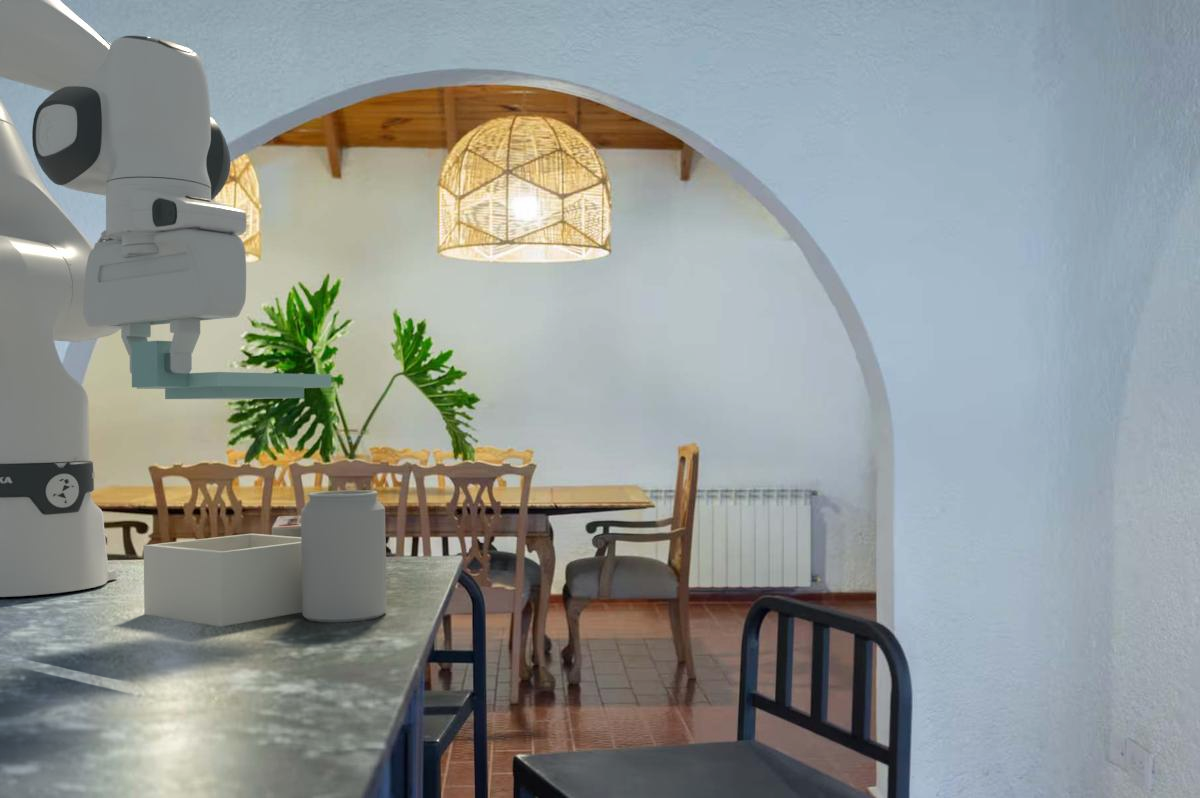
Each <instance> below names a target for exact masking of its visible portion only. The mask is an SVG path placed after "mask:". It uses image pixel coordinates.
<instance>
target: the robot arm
mask: <svg viewBox="0 0 1200 798" xmlns="http://www.w3.org/2000/svg"><path fill="white" fill-rule="evenodd" d="M0 78H3V79H6V80H10V81H13V82H17V83H21V84H24V85H28V86H32V87H35V88H38V89H42V90H46V91H49V92H52V94H50V95H49V96H47V98H46V99H44V100H43V101H42V102H41V104H39V105H38V107H37V109H36V111H35V114H34V118H33V123H32V134H31V135H32V136H31V137H32V148H33V152H34V156H35V159H36V160H37V163H38V165H39V166H40V168H41V170H42V172H43V173H44V175H46V177H47V178H48V179H49V180H50V181H51V182H52V183H53V184H55V185H58V186H61V187H64V188H67V189H69V190H73V191H77V192H83V193H87V194H88V193H89V194H94V195H99V196H105V230H103V231H102V232H101V234H100V237H99V239H98V240H97V242H95V244H93V243H92V242H91V241H90V240H89V239H88V238H87V237H86V236H85V235H84V233H83V232H82V231H81V230H80V229H79V228H78V227H77V225H76V224H75V223H74V222H73V221H72V220H71V218H69V216H68V215H67V214H66V213H65V211H64V210H63V209H62V208H61V207H60V206H59V204H58V203H57V201H55V199H54V198H53V196H52V195H51V194H50V192H49V191H48V189H47V188H46V185H44V183H43V181H42V180H41V178H40V175H39V174H38V172H37V170H36V167H35V165H34V164H33V162H32V159H31V157H30V155H29V153H28V152H27V149H26V147H25V145H24V143H23V141H22V138H21V137H20V135H19V132H18V130H17V128H16V125H15V124H14V122H13V120H12V118H11V116H10V114H9V112H8V111H7V109H6V107H5V105H4V103H3V101H2V99H1V98H0V598H7V597H26V596H39V595H50V594H61V593H68V592H75V591H81V590H86V589H87V590H88V589H91V588H96V587H101V586H104V585H106V584H107V582H108V581H112V580H115V579H118V571H117V569H116V568H114V569H113V568H109V562H108V552H107V541H106V539H107V538H106V530H105V519H104V513H103V511H102V509H101V508H100V507H99V506H98V505H97V504H96V503H95V502H94V500H93V498H92V495H91V493H92V492H93V491H94V489H95V483H94V481H95V480H94V479H95V477H96V476H95V471H94V462H93V461H92V460H90V431H89V430H90V429H89V427H90V426H89V425H90V423H89V418H90V417H89V398H88V397H89V396H88V395H87V391H86V390H85V388H84V387H83V386H82V384H81V383H79V381H77V380H76V379H75V378H74V377H73V376H71V375H70V374H69V372H68V371H67V370H66V368H65V366H64V364H63V363H62V360H61V358H60V356H59V354H58V350H57V348H56V344H55V342H56V341H58V342H70V343H79V342H85V341H90V340H95V339H100V338H104V337H105V338H106V337H109V336H112V335H114V334H116V333H118V332H119V331H120V330H121V331H120V332H121V334H120V335H121V339H122V342H123V345H124V347H125V349H126V352H127V353H128V356H129V372H130V374H131V375H132V343H133V342H146V341H149V340H148V338H151V334H152V332H151V329H152V328H151V326H155V325H167V324H169V331H170V332H169V333H173V335H172V336H173V337H172V339H171V341H172V343H171V347H170V351H169V352H170V353H164V361H165V365H164V369H165V371H166V372H167V373H175V374H181V373H189V372H190V373H191V371H192V369H193V368H192V366H193V364H192V362H193V361H192V359H193V358H192V357H193V356H192V354H193V352H194V351H195V348H196V346H197V343H198V340H199V338H200V335H201V321H211V320H223V319H231V318H238V317H239V316H240V314H241V312H242V310H243V308H244V306H245V303H246V298H247V297H246V296H247V258H246V257H247V256H246V255H247V254H246V248H245V244H244V242H243V240H242V239H241V237H239V236H241V235H243V234H244V233H245V232H246V230H247V213H246V212H245V211H244V210H243V209H240V208H237V207H234V206H230V205H228V204H224V203H222V202H219V201H216V200H213V199H215V198H216V197H217V196H218V195H219V194H220V192H221V191H222V190H223V189H224V187H225V184H226V183H227V181H228V179H229V176H230V171H231V155H230V150H229V147H228V143H227V140H226V138H225V136H224V134H223V131H222V130H221V128H220V126H219V125H218V123H217V122H216V120H215V119H213V117H212V116H211V102H210V94H209V91H210V90H209V85H208V84H209V83H208V78H207V73H206V71H205V67H204V64H203V60H202V59H201V57H200V56H199V55H198V54H197V53H196V52H194V51H193V50H192V49H191V48H189V47H186V46H183V45H180V44H179V43H178V44H177V43H175V42H172V41H168V40H165V39H162V38H161V39H160V38H154V37H150V36H142V35H125V36H121V37H118V38H115V39H114V40H113V41H112V42H109V41H108V40H107V39H105V38H104V36H102V35H100V34H99V33H98V32H96V31H95V30H94V28H93V27H91V26H90V25H89V24H88V23H86V22H85V21H84V20H83V19H82V18H80V17H79V16H78V15H77V14H75V12H73V11H72V10H71V9H70V8H69V7H68V6H67V5H65V4H64V2H62V0H0Z"/></svg>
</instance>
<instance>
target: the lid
mask: <svg viewBox="0 0 1200 798" xmlns="http://www.w3.org/2000/svg"><path fill="white" fill-rule="evenodd" d="M171 343H172V340H148V341H146V342H133V343H132V374H131V388H136V389H137V390H138V389H141V390H143V389H144V390H145V389H146V390H147V389H149V390H151V389H152V390H164V399H165V400H262V399H263V400H265V399H268V400H270V399H272V400H273V399H298V398H299V399H304V398H305V389H317V388H332V374H323V373H321V374H318V373H316V374H315V373H284V372H283V373H277V372H272V373H271V372H242V371H241V372H239V371H238V372H236V371H234V372H231V371H230V372H229V371H213V372H212V371H211V372H191V371H190V372H189V373H181V374H175V373H167V372H166V371H165V369H164V365H165V361H164V353H170V352H169V351H170V347H171Z"/></svg>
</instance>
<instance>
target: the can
mask: <svg viewBox="0 0 1200 798" xmlns="http://www.w3.org/2000/svg"><path fill="white" fill-rule="evenodd" d="M378 494H379V493H378V491H376V490H372V489H371V490H369V489H368V490H364V489H363V490H362V489H360V490H359V489H356V490H355V489H352V490H350V489H349V490H348V489H345V490H327V491H325V490H324V491H315V492H310V493H309V492H308V494H307V496H308V498H309V500H308V502H306V504H305V505H304V507H302V508H301V510H300V515H301V549H302V612H301V614H302V616H303V617H304V618H305V619H306V620H307V621H311V622H317V623H331V624H332V623H352V622H353V623H354V622H360V621H361V622H362V621H368V620H372V619H377V618H379V617H381V616H383V615H384V614H385V613H386V612H387V608H388V607H387V598H386V587H387V543H386V542H387V540H386V538H385V537H386V507H385V506H384V505H383V504H382V503H381V501H379V499H378V498H377V495H378Z"/></svg>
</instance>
